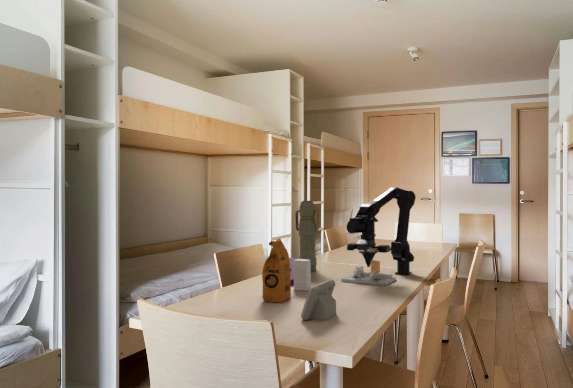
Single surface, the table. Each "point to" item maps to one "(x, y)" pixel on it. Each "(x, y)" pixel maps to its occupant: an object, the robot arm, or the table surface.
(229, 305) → the table surface
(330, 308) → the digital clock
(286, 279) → the coffee package
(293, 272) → the purple package
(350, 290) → the table surface
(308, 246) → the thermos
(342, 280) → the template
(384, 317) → the table surface
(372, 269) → the slider
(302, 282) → the skincare box
